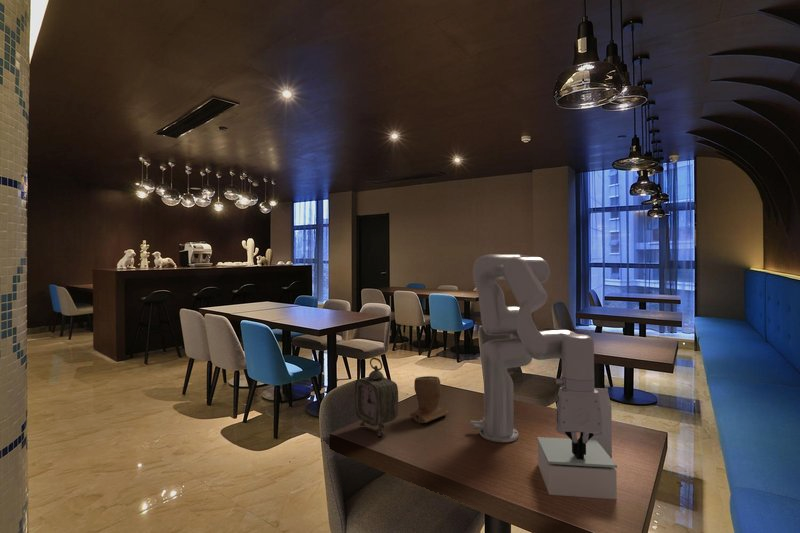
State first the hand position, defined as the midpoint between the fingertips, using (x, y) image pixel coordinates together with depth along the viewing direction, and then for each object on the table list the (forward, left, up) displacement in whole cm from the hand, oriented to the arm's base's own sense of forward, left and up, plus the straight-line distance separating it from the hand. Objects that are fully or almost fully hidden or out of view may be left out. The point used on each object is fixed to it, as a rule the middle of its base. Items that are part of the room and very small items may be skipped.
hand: (579, 456), depth 104 cm
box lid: (0, +4, -1) cm, 4 cm away
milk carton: (+11, +23, -8) cm, 27 cm away
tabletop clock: (-58, +30, -8) cm, 66 cm away
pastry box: (0, +4, -8) cm, 9 cm away
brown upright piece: (-42, +44, -8) cm, 62 cm away
